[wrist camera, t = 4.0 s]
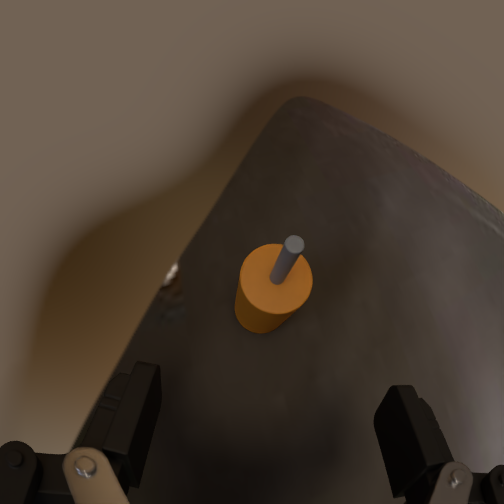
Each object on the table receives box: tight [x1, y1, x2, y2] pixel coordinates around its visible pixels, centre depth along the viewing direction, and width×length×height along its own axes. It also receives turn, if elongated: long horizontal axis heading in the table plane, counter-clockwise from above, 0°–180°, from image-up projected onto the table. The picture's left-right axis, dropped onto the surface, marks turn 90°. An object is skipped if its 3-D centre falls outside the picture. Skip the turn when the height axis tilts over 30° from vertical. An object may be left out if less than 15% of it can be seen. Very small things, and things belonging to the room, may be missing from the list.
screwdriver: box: [235, 235, 313, 333], centre depth 16 cm, size 3×3×11 cm
